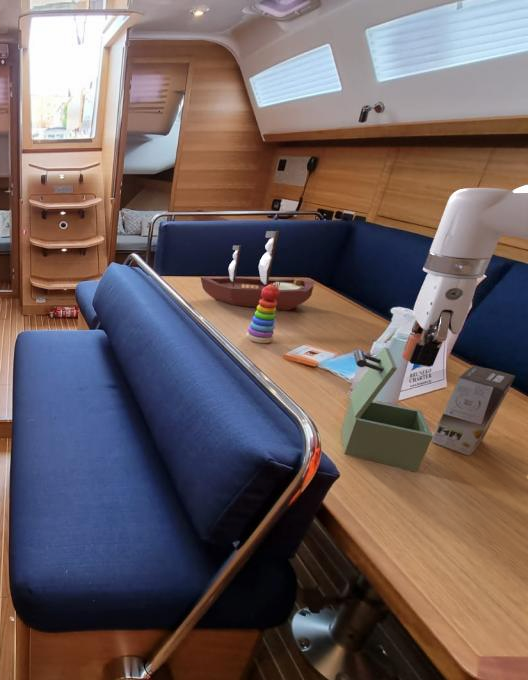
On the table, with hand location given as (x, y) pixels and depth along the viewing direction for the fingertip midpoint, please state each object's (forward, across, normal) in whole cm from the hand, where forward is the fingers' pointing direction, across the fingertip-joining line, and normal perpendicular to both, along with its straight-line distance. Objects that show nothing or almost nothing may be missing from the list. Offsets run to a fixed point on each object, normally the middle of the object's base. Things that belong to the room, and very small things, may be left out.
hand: (417, 357), depth 79 cm
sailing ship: (+23, +88, +31) cm, 96 cm away
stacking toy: (+23, +51, +26) cm, 61 cm away
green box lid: (+7, 0, +5) cm, 8 cm away
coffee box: (+22, +11, -14) cm, 29 cm away
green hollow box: (+22, 0, +1) cm, 22 cm away
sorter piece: (0, 0, 0) cm, 0 cm away
